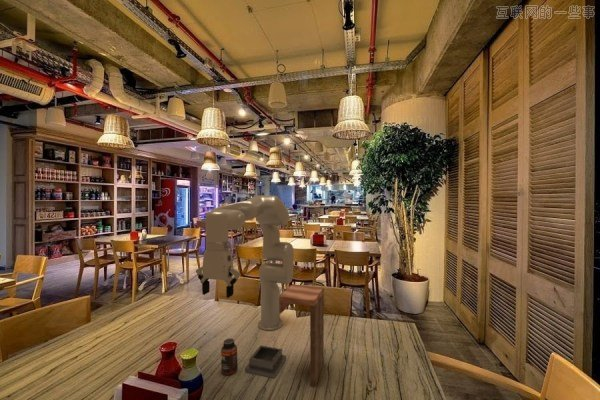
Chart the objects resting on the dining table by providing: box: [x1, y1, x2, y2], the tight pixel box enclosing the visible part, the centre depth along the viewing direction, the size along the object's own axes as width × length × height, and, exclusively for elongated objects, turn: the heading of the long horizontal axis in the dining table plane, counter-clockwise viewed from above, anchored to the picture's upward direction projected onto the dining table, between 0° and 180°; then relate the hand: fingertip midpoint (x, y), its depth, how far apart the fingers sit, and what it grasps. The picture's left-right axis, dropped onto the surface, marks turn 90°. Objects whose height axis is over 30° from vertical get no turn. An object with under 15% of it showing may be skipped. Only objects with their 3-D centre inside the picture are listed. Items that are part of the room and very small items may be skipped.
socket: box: [244, 345, 287, 379], centre depth 105 cm, size 12×12×4 cm
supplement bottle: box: [220, 338, 238, 376], centre depth 102 cm, size 6×6×11 cm
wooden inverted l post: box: [279, 283, 325, 388], centre depth 102 cm, size 14×13×30 cm
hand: (217, 294), depth 95 cm, fingers open, 9 cm apart
